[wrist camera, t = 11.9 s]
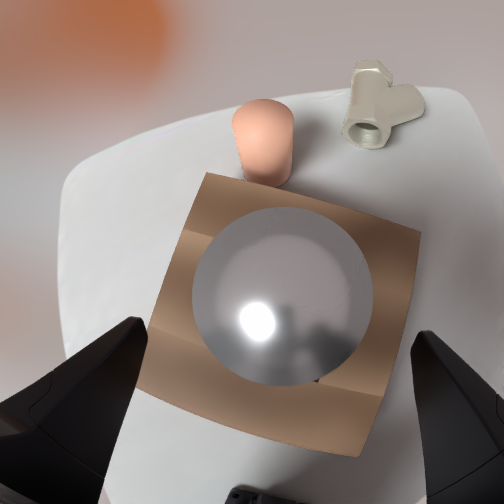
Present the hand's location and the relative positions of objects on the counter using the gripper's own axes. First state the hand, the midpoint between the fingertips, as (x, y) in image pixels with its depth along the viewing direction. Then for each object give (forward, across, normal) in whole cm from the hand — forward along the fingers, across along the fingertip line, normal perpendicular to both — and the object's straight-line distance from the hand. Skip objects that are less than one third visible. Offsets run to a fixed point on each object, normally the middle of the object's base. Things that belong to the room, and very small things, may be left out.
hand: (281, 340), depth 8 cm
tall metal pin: (+8, 0, +6) cm, 10 cm away
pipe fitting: (+20, -8, -5) cm, 22 cm away
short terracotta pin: (+15, +1, -2) cm, 15 cm away
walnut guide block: (+8, 0, +6) cm, 10 cm away
